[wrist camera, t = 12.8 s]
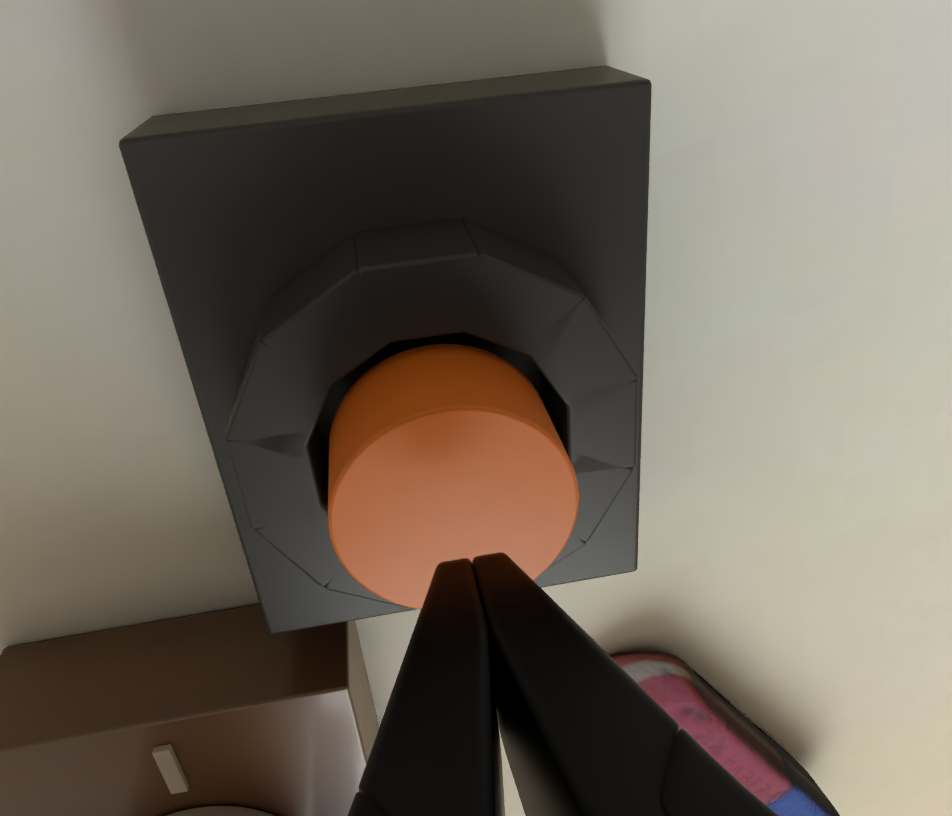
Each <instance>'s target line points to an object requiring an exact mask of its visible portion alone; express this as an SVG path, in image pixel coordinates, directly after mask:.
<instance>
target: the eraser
mask: <svg viewBox="0 0 952 816" xmlns="http://www.w3.org/2000/svg"><path fill="white" fill-rule="evenodd" d="M610 657H611V658H612V659H613V660H614V661H615V662H616V663H617V664H618V665H619V666H620V667H621V668H622V669H623V670H624V671H625V672H626V673H628V674H629V675H630V676H631V677H632V678H633V679H634V680H635V681H636V682H637V683H638V684H639V685H640V686H641V687H642V688H643V689H644V690H645V691H646V692H647V693H648V694H649V695H650V696H651V697H652V698H653V699H654V700H655V701H656V702H657V703H658V704H659V705H660V706H661V707H662V708H663V709H664V710H665V711H666V712H667V713H668V714H669V715H670V716H671V717H672V718H673V719H674V720H675V721H676V722H677V723H678V724H679V730H680V729H684V730H686V731H687V732H688V733H689V734H690V735H691V736H692V737H693V738H694V739H695V740H696V741H697V742H698V743H699V744H700V745H701V746H702V747H703V748H704V749H705V750H706V751H707V752H708V753H709V754H710V755H711V756H712V757H713V758H714V759H715V760H716V761H718V762H719V763H720V764H721V765H722V766H723V767H724V768H725V769H726V770H727V771H728V772H729V773H730V774H732V775H733V776H734V777H735V778H736V779H737V780H738V781H739V782H740V783H741V784H742V785H743V786H744V787H746V788H747V789H748V790H749V791H750V792H751V793H753V794H754V795H755V796H756V797H757V798H759V799H760V800H761V801H762V802H763V803H765V804H766V805H767V806H768V807H769V808H771V809H772V810H773V811H774V812H775V813H777V814H778V815H779V816H840V815H839V814H838V812H837V811H836V809H835V808H834V806H833V805H832V804H831V802H830V801H829V800H828V798H827V797H826V796H825V794H824V793H823V792H822V791H821V789H820V788H819V787H818V785H817V784H816V783H815V781H814V780H813V779H812V777H811V776H810V775H809V773H808V772H807V771H806V770H805V769H804V768H803V767H802V766H801V765H800V764H799V763H798V762H797V761H796V760H795V759H794V758H793V757H792V756H791V755H790V754H789V753H788V752H786V751H785V750H784V749H783V748H782V747H781V746H780V745H779V744H778V743H776V742H775V741H774V740H773V739H772V738H771V737H769V736H768V735H767V734H766V733H764V732H763V731H762V730H761V729H759V728H758V727H757V726H756V725H754V724H753V723H752V722H751V721H749V720H748V719H747V718H746V717H745V716H744V715H743V714H742V713H741V712H740V711H738V710H737V709H736V708H735V707H734V706H733V705H732V704H731V703H730V702H729V701H727V700H726V699H725V698H724V697H723V696H722V695H721V694H720V693H718V692H717V691H716V690H715V689H714V688H713V687H712V686H711V685H710V684H708V683H707V682H706V681H705V680H704V679H703V678H702V677H701V676H699V675H698V674H697V673H696V672H695V671H694V670H693V669H691V668H690V667H689V666H688V665H687V664H686V663H685V662H684V661H682V660H681V659H679V658H677V657H675V656H672V655H668V654H664V653H660V652H643V651H642V652H630V653H620V654H614V655H611V656H610Z"/></svg>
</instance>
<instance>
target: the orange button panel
mask: <svg viewBox="0 0 952 816" xmlns="http://www.w3.org/2000/svg"><path fill="white" fill-rule="evenodd" d="M650 119H651V82H650V80H648V79H645V78H642V77H639V76H636V75H633V74H630V73H627V72H624V71H621V70H618V69H615V68H612V67H609V66H600V67H591V68H582V69H573V70H564V71H555V72H546V73H537V74H528V75H519V76H510V77H501V78H492V79H483V80H474V81H465V82H456V83H447V84H438V85H429V86H420V87H411V88H402V89H393V90H384V91H375V92H366V93H357V94H348V95H339V96H330V97H321V98H312V99H303V100H294V101H285V102H276V103H267V104H258V105H249V106H240V107H231V108H222V109H213V110H204V111H195V112H186V113H177V114H168V115H159V116H153V117H151V118H149V119H148V120H147V121H145V122H144V123H143V124H141V125H140V126H138V127H137V128H136V129H134V130H133V131H132V132H130V133H129V134H128V135H126V136H125V137H124V138H122V139H121V140H120V141H119V147H120V150H121V154H122V157H123V160H124V163H125V167H126V170H127V173H128V176H129V180H130V183H131V186H132V189H133V193H134V196H135V199H136V202H137V206H138V209H139V212H140V215H141V219H142V222H143V225H144V228H145V232H146V235H147V238H148V241H149V245H150V248H151V251H152V254H153V258H154V261H155V264H156V267H157V271H158V274H159V277H160V280H161V284H162V287H163V290H164V293H165V297H166V300H167V303H168V306H169V310H170V313H171V316H172V319H173V323H174V326H175V329H176V332H177V336H178V339H179V342H180V345H181V349H182V352H183V355H184V358H185V362H186V365H187V368H188V371H189V375H190V378H191V381H192V384H193V388H194V391H195V394H196V397H197V401H198V404H199V407H200V410H201V414H202V417H203V420H204V423H205V427H206V430H207V433H208V436H209V440H210V443H211V446H212V449H213V453H214V456H215V459H216V462H217V466H218V469H219V472H220V475H221V479H222V482H223V485H224V489H225V492H226V495H227V498H228V502H229V505H230V508H231V511H232V515H233V518H234V521H235V524H236V528H237V531H238V534H239V537H240V541H241V544H242V547H243V550H244V554H245V557H246V560H247V563H248V567H249V570H250V573H251V576H252V580H253V583H254V586H255V589H256V593H257V596H258V599H259V602H260V606H261V609H262V612H263V615H264V619H265V622H266V625H267V628H268V631H269V633H270V634H277V633H283V632H289V631H295V630H300V629H306V628H312V627H317V626H323V625H329V624H335V623H340V622H346V621H352V620H358V619H363V618H369V617H375V616H380V615H386V614H392V613H398V612H403V611H409V610H415V608H409V607H405V606H402V605H399V604H395V603H393V602H390V601H388V600H385V599H383V598H381V597H379V596H377V595H376V594H374V593H372V592H370V591H369V590H367V589H366V588H365V587H363V586H362V585H361V584H360V583H358V582H357V581H356V580H355V579H354V578H353V577H352V576H351V575H350V574H349V573H348V571H347V570H346V569H345V567H344V566H343V564H342V563H341V562H340V560H339V558H338V556H337V554H336V552H335V550H334V549H333V545H332V542H331V539H330V536H329V529H328V478H329V436H330V430H331V425H332V421H333V418H334V416H335V413H336V410H337V408H338V406H339V404H340V402H341V400H342V399H343V397H344V396H345V394H346V393H347V392H348V390H349V389H350V387H351V386H352V385H353V384H354V383H355V382H356V381H357V380H358V379H359V378H360V377H361V376H362V375H363V374H365V373H366V372H367V371H368V370H369V369H371V368H372V367H373V366H375V365H377V364H378V363H380V362H381V361H383V360H385V359H387V358H389V357H391V356H393V355H395V354H397V353H400V352H403V351H406V350H409V349H412V348H416V347H421V346H425V345H434V344H459V345H465V346H472V347H476V348H479V349H483V350H486V351H489V352H491V353H493V354H496V355H498V356H500V357H502V358H503V359H505V360H507V361H508V362H510V363H511V364H513V365H514V366H515V367H516V368H518V369H519V370H520V371H521V372H522V373H523V374H524V375H525V376H526V377H527V378H528V379H529V380H530V381H531V383H532V384H533V386H534V387H535V389H536V390H537V392H538V394H539V396H540V398H541V400H542V402H543V404H544V406H545V408H546V410H547V412H548V415H549V417H550V419H551V421H552V423H553V425H554V427H555V429H556V431H557V433H558V436H559V438H560V440H561V442H562V444H563V446H564V448H565V450H566V452H567V454H568V456H569V459H570V461H571V463H572V465H573V467H574V470H575V474H576V477H577V481H578V490H579V504H578V512H577V516H576V521H575V524H574V527H573V530H572V533H571V535H570V537H569V539H568V541H567V543H566V545H565V546H564V548H563V550H562V551H561V552H560V554H559V555H558V557H557V558H556V559H555V560H554V561H553V563H552V564H551V565H550V566H549V567H548V568H547V569H546V570H545V571H544V572H543V573H542V574H540V575H539V576H538V577H537V578H536V579H535V580H533V581H534V582H535V583H536V584H537V585H538V586H539V587H540V588H541V587H547V586H552V585H558V584H564V583H570V582H575V581H581V580H587V579H592V578H598V577H604V576H610V575H615V574H621V573H627V572H633V571H635V570H636V569H637V558H638V524H639V490H640V457H641V423H642V389H643V355H644V321H645V288H646V254H647V220H648V186H649V153H650Z"/></svg>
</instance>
